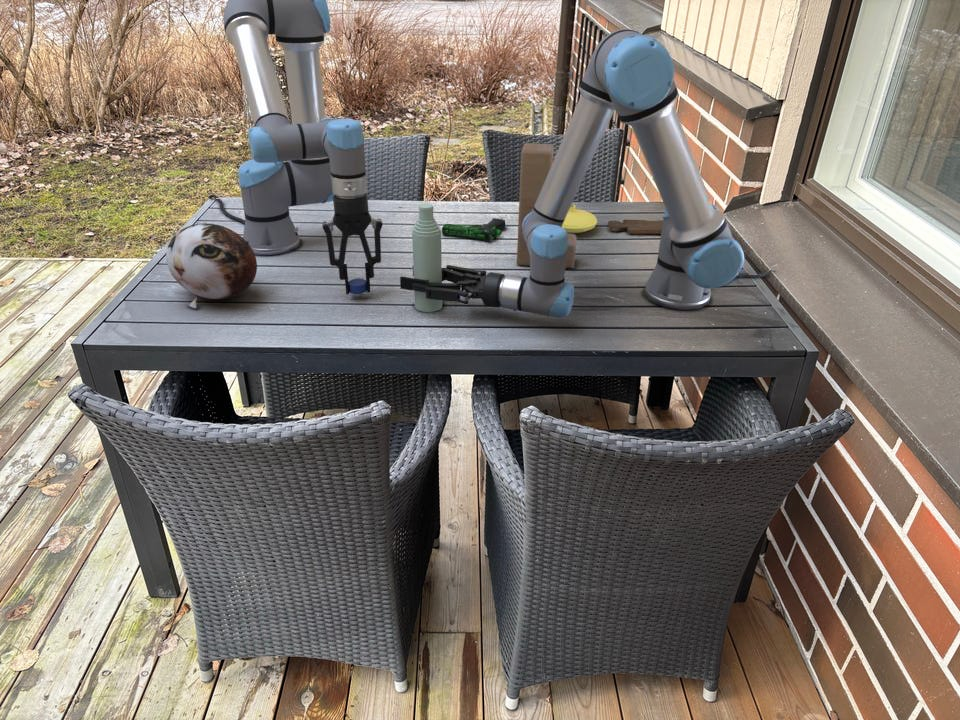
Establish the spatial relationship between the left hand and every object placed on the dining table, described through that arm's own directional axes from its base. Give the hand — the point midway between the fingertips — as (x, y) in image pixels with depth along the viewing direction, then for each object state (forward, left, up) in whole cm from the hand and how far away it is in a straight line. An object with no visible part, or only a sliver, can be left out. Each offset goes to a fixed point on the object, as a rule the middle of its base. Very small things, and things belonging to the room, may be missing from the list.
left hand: (358, 290), depth 169 cm
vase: (+20, +70, -2) cm, 73 cm away
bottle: (+16, +6, -2) cm, 17 cm away
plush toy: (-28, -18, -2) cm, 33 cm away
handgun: (-1, +52, -2) cm, 52 cm away
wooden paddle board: (+40, +84, -2) cm, 93 cm away
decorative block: (+26, +44, -2) cm, 51 cm away
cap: (0, 0, +2) cm, 2 cm away
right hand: (+11, +5, +5) cm, 13 cm away
